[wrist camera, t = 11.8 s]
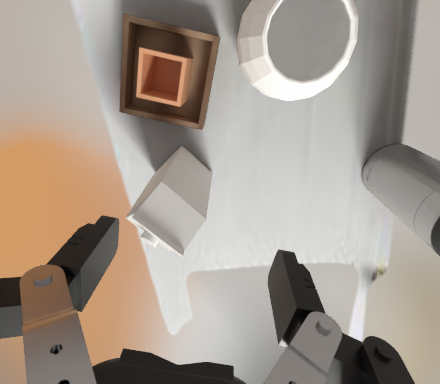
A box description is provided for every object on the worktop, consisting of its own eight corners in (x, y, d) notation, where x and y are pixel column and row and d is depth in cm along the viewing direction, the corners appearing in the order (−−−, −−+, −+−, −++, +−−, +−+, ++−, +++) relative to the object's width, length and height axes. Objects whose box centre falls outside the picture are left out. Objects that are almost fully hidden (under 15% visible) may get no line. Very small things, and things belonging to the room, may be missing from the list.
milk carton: (181, 144, 44) (152, 197, 27) (212, 173, 46) (203, 238, 29) (154, 172, 46) (112, 237, 29) (185, 198, 48) (162, 273, 31)
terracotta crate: (193, 58, 38) (186, 58, 31) (187, 99, 40) (180, 106, 34) (154, 49, 37) (139, 47, 31) (150, 91, 40) (136, 97, 33)
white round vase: (215, 43, 37) (210, 34, 25) (292, -41, 33) (328, -100, 21) (274, 113, 41) (294, 134, 29) (349, 46, 37) (408, 39, 25)
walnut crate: (220, 39, 37) (219, 36, 34) (204, 124, 42) (202, 129, 39) (133, 18, 36) (123, 13, 33) (128, 107, 42) (119, 112, 38)
